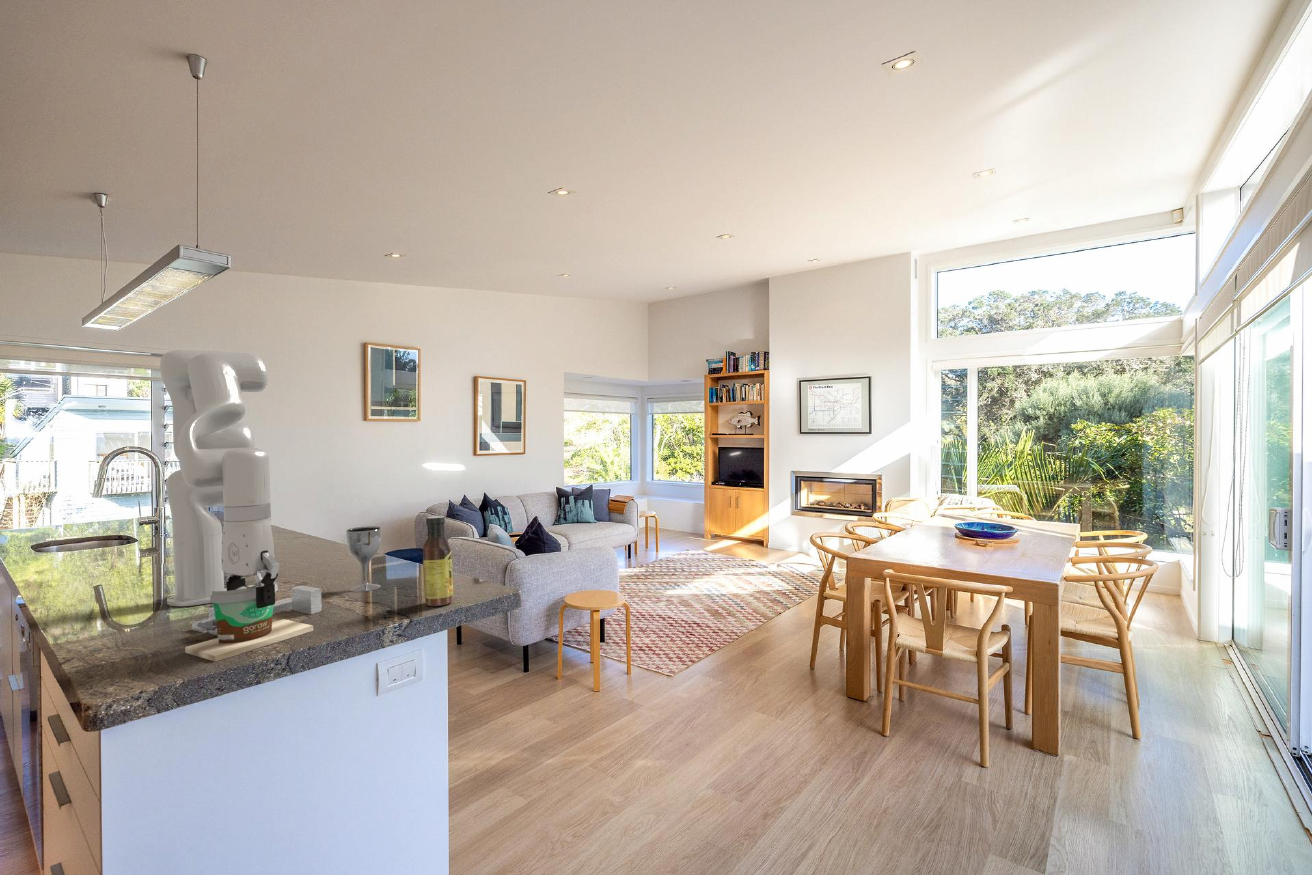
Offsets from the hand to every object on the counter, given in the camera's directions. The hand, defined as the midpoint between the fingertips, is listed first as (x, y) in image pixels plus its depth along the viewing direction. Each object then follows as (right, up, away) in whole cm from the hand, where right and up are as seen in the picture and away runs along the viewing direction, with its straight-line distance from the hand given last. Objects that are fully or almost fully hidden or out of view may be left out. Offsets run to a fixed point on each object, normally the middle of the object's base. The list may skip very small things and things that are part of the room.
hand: (251, 603), depth 120 cm
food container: (+1, -7, 0) cm, 7 cm away
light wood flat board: (0, -7, 0) cm, 7 cm away
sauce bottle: (+28, -6, +23) cm, 37 cm away
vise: (-7, -7, +13) cm, 16 cm away
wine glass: (+4, -7, +38) cm, 39 cm away
